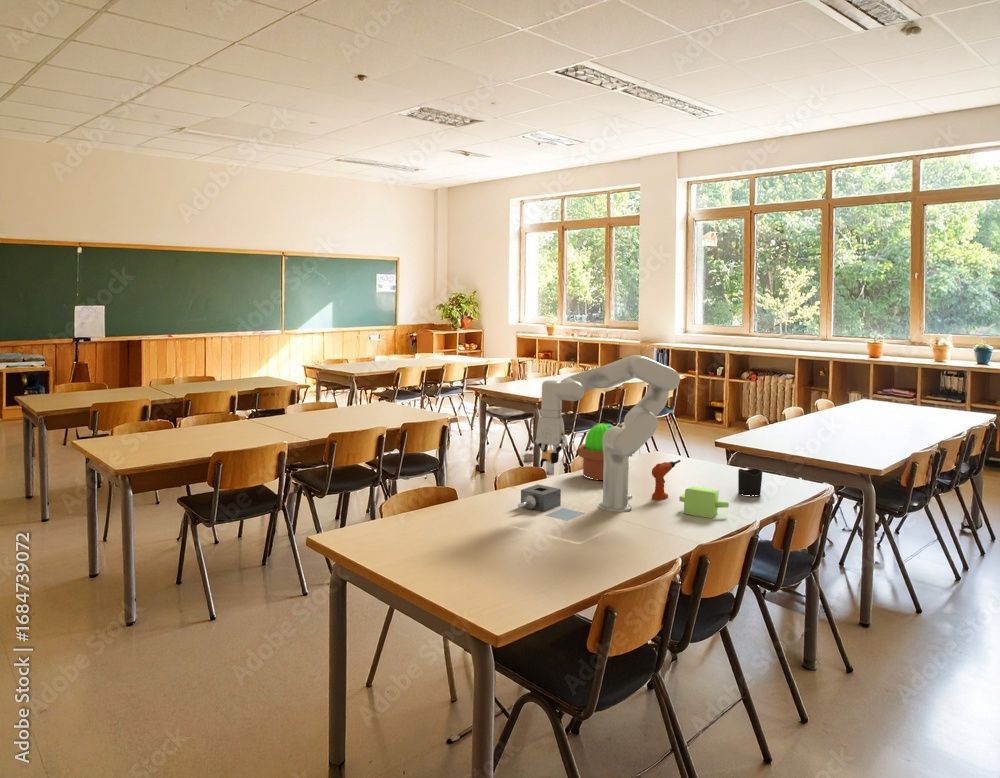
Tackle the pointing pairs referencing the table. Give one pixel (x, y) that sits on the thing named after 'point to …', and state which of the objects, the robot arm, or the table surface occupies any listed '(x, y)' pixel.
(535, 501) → the block
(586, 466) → the potted cactus
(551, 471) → the chuck key
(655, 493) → the toy drill
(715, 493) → the gearbox
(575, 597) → the table surface
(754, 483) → the pen holder
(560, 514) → the key mat
